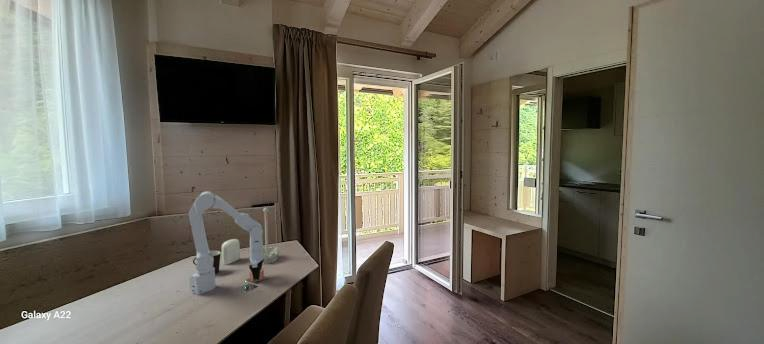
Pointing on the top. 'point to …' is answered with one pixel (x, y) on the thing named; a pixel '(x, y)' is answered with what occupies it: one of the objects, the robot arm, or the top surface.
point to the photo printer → (230, 251)
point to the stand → (246, 287)
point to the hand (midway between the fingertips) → (257, 276)
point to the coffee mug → (216, 260)
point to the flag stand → (268, 252)
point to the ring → (259, 276)
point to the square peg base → (257, 281)
